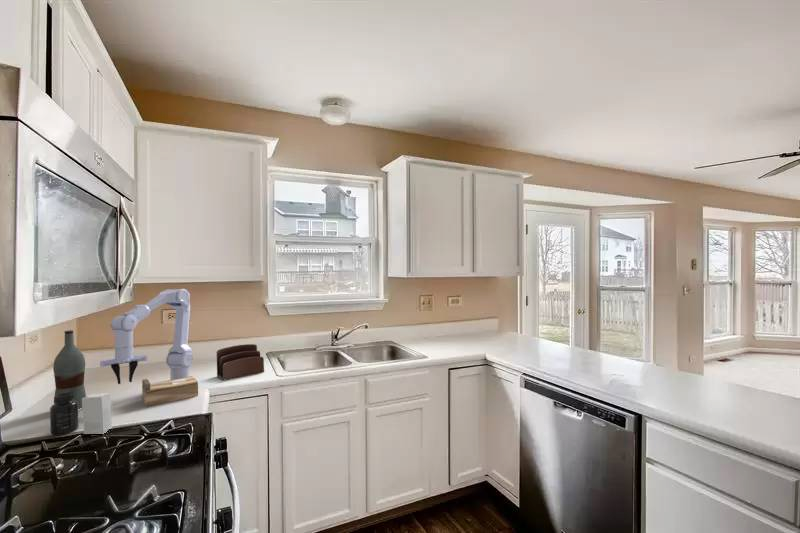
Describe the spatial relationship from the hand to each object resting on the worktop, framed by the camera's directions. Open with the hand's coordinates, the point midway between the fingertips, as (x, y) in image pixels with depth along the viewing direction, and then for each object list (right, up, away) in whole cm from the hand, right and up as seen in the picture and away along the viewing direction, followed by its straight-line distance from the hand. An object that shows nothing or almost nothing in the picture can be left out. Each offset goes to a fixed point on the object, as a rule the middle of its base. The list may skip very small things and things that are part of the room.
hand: (124, 382), depth 144 cm
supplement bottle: (-3, -9, -22) cm, 24 cm away
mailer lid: (+12, -4, +10) cm, 16 cm away
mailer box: (+12, -9, +10) cm, 18 cm away
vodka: (-20, -10, -1) cm, 23 cm away
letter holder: (+26, -10, +44) cm, 52 cm away
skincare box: (+9, -9, -24) cm, 27 cm away
